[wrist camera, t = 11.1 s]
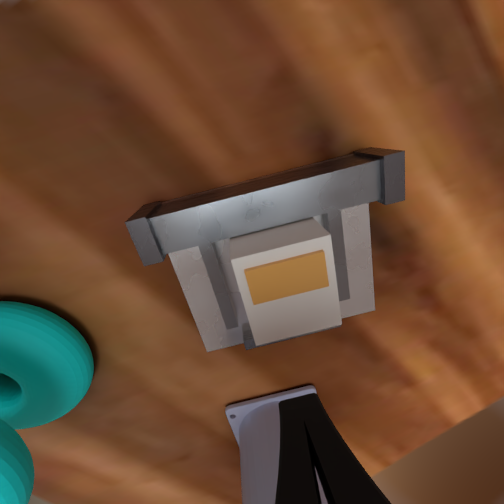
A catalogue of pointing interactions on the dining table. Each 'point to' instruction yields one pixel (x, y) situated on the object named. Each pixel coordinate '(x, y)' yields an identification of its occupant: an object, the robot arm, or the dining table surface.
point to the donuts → (35, 385)
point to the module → (287, 280)
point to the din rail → (262, 217)
